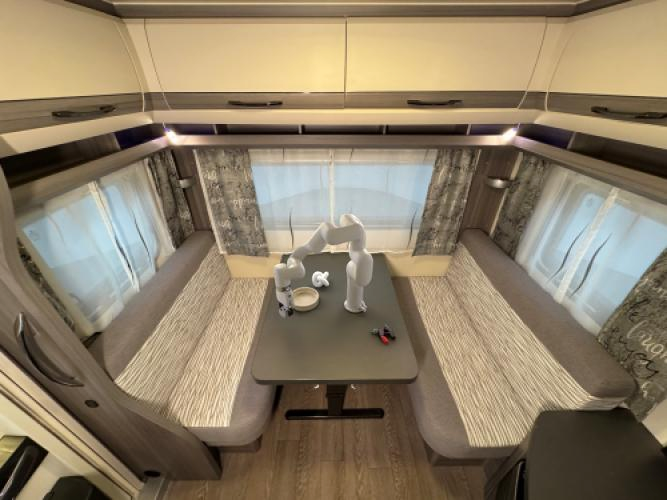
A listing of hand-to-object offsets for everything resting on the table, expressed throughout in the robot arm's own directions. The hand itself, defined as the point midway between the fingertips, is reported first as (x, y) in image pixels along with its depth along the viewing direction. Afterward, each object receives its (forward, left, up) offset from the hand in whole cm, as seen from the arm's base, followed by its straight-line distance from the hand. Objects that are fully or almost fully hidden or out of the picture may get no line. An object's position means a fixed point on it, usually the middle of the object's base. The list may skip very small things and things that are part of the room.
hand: (286, 311), depth 142 cm
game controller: (0, 0, -1) cm, 1 cm away
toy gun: (-45, -29, -9) cm, 54 cm away
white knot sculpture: (+12, -38, -9) cm, 41 cm away
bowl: (+7, -18, -9) cm, 21 cm away
